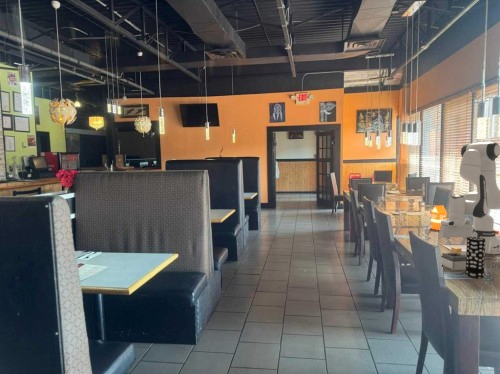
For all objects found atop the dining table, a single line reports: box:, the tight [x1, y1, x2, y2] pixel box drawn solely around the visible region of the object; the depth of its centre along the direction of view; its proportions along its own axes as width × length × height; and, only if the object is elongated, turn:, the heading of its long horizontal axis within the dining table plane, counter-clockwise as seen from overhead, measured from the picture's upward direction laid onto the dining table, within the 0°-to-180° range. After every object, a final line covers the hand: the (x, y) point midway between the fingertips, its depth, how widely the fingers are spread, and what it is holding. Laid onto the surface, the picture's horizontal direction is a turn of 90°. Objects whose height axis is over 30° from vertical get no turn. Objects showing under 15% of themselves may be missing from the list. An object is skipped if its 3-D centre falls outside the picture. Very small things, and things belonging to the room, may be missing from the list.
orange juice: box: [430, 204, 447, 231], centre depth 320 cm, size 8×9×20 cm
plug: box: [450, 246, 463, 254], centre depth 229 cm, size 4×4×7 cm
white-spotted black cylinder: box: [465, 236, 486, 279], centre depth 197 cm, size 8×8×20 cm
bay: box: [440, 252, 466, 272], centre depth 215 cm, size 18×14×7 cm
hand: (455, 244), depth 228 cm, fingers open, 8 cm apart
